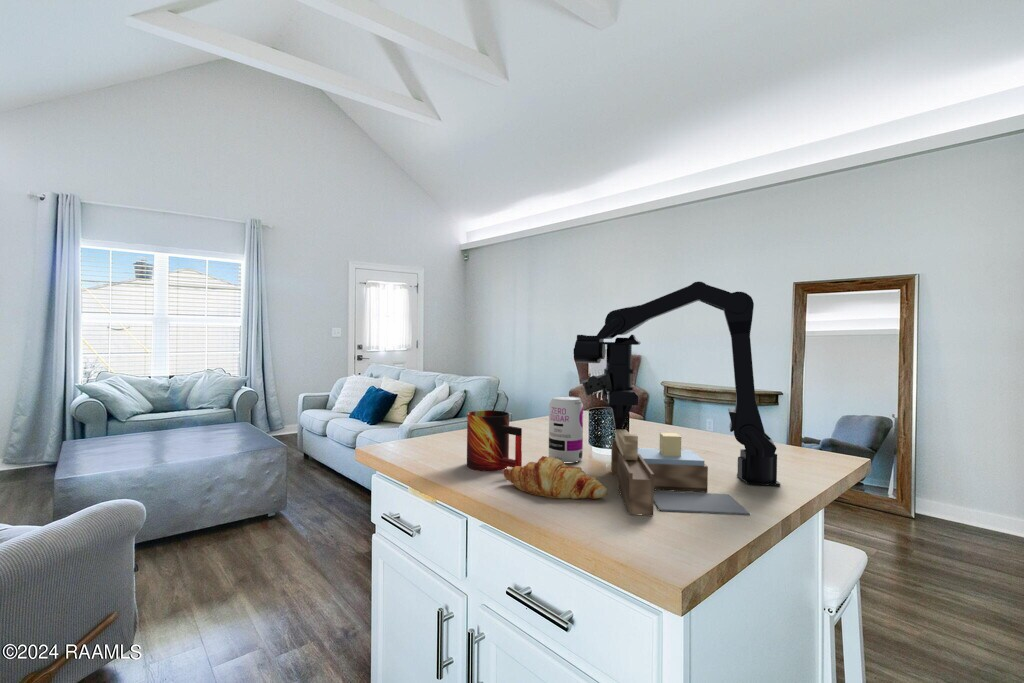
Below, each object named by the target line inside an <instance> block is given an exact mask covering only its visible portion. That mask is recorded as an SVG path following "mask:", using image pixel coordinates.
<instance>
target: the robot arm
mask: <svg viewBox="0 0 1024 683" xmlns="http://www.w3.org/2000/svg"><path fill="white" fill-rule="evenodd" d="M697 302H701V303H704V304H705V305H707V306H711V307H713V308H715V309H718V310H720V311H723V314H724V318H725V321H726V324H727V325H726V326H727V327H728V331H729V335H730V340H731V352H732V365H733V373H734V376H733V377H734V386H735V387H734V389H735V398H736V399H735V406H734V408H728V414H729V419H730V423H729V430H730V431H729V432H730V433H732V432H733V434H734V438H735V440H736V441H737V442H738V443H739V444H740V445H743V446H744V449H743V448H741V449H740V450H739V452H740V453H739V454H740V456H737V473H736V477H737V478H739V479H740V480H742V481H743V482H744V483H745V484H747V485H753V486H756V485H757V486H778V487H779V486H781V482H779V480H778V477H777V476H778V453H776V451H777V450H778V449H777V446H776V445H775V443H774V441H773V439H772V438H771V437H770V436H769V435H768V434H767V433H766V432H765V428H764V424H763V421H762V417H761V414H760V411H759V407H758V404H757V400H756V391H755V380H754V367H753V357H752V356H753V355H752V346H751V345H752V344H751V330H752V324H753V314H754V306H755V304H754V299H753V298H752V296H751V295H749V294H748V293H746V292H744V291H734V292H730V291H727V290H725V289H723V288H718V287H715V286H712V285H709V284H707V283H705V282H703V281H694V282H693V283H691V284H689V285H687V286H685V287H682V288H679V289H678V290H675V291H673V292H670V293H668V294H665V295H662V296H660V297H658V298H655V299H652V300H651V301H648V302H645V303H642V304H639V305H632V306H627V307H622V308H619V309H614V310H611V311H609V312H608V313H607V315H606V317H605V319H604V320H605V321H604V325H603V326H602V328H601V329H600V330H599V331H598V333H597V334H596V335H586V334H577V335H576V341H575V343H574V347H573V359H574V362H575V363H580V364H582V363H583V364H600V363H601V362H602V360H605V358H606V360H605V361H606V364H605V365H606V367H605V368H604V369H603V373H602V374H600V375H596V376H595V375H594V374H592V376H588V377H587V379H583V380H582V381H581V385H582V388H583V390H584V393H585V395H586V396H591V395H593V394H595V393H598V392H600V391H601V395H602V396H601V397H605V396H607V398H604V399H603V400H604V401H605V403H606V404H607V406H609V407H610V409H611V410H610V411H611V414H612V419H613V424H614V425H613V426H614V429H620V430H623V427H624V424H625V422H626V419H628V415H629V413H630V411H631V410H632V408H633V406H639V395H637V394H636V393H635V391H633V390H634V388H633V386H632V374H634V369H633V368H632V360H633V359H632V349H633V347H632V346H638V345H639V346H640V344H641V341H640V340H639V339H637V337H636V335H635V334H630V335H629V336H628V337H617V336H625V335H628V334H629V333H631V332H632V331H634V330H636V329H637V328H639V327H641V326H642V325H644V324H645V323H646V322H648V321H650V320H653V319H655V318H657V317H660V316H662V315H665V314H668V313H670V312H673V311H675V310H678V309H681V308H683V307H687V306H689V305H691V304H693V303H697ZM615 337H616V338H615ZM614 338H615V341H613V342H612V341H604V340H612V339H614Z"/></svg>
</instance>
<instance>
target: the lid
mask: <svg viewBox="0 0 1024 683" xmlns="http://www.w3.org/2000/svg"><path fill="white" fill-rule="evenodd" d="M620 453H621V452H620ZM638 454H640V455H641V457H642V458H643V459H644V461H645V462H646V464H668V465H695V466H704V464H705V460H704V459H703V458H702V457H701V456H700V455H699V454H697V453H696V452H694V451H693V449H682V436H681V435H680V434H679V433H677V432H676V433H675V432H659V448H649V447H648V448H647V447H646V448H643V447H642V448H640V447H639V448H638Z"/></svg>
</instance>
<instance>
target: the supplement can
mask: <svg viewBox="0 0 1024 683" xmlns="http://www.w3.org/2000/svg"><path fill="white" fill-rule="evenodd" d="M583 430H584V404H583V401H582V399H581V397H577V396H568V395H567V396H565V395H564V396H563V395H562V396H561V395H560V396H553V397H551V400H550V402H549V404H548V457H553V458H555V459H559V460H561V461H562V462H576V461H579V460H580V461H581V460H582V459H583V455H584V454H583V452H584V451H583V449H584V448H583V446H584V445H583V442H584V436H583V435H584V431H583ZM580 461H579V462H580Z"/></svg>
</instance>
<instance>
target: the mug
mask: <svg viewBox="0 0 1024 683" xmlns="http://www.w3.org/2000/svg"><path fill="white" fill-rule="evenodd" d="M466 417H467V421H466V422H467V423H466V424H467V425H466V427H467V428H466V430H467V431H466V468H467V469H470V470H473V471H477V472H499V471H504V470H505V468H506V469H508V468H509V467H510V468H511V469H512V468H513V467H515V466H520V467H523V465H522V464H523V462H522V460H523V459H522V458H523V457H522V456H523V454H522V453H523V451H522V437H523V435H522V433H523V428H521V427H517V426H512V425H510V413H509V412H508V411H504V410H503V411H501V410H493V409H492V410H491V409H490V410H487V409H485V410H473V411H469V412H467V415H466ZM510 435H512V436H515V440H514V441H515V444H514V445H515V446H514V447H515V448H514V449H515V452H514V454H515V455H514V459H513V458H509V456H510V452H509V451H510ZM507 467H508V468H507ZM498 470H499V471H498Z"/></svg>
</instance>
